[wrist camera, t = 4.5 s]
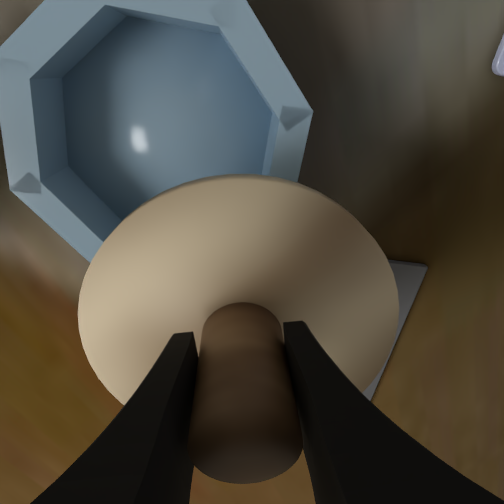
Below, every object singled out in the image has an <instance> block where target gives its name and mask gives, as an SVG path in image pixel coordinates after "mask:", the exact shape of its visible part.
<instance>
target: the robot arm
mask: <svg viewBox="0 0 504 504" xmlns="http://www.w3.org/2000/svg"><path fill="white" fill-rule="evenodd" d="M492 71H493V72H494V74H496V75H499V76H504V35H503V37H502V40H501V42H500V45H499V47H498V50H497V52H496V55H495V57H494V60H493V63H492ZM283 329H284V346H285V351H286V356H287V361H288V366H289V371H290V375H291V380H292V385H293V390H294V395H295V400H296V405H297V410H298V416H299V421H300V426H301V431H302V436H303V450H304V454H305V458H306V461H307V465H308V469H309V473H310V477H311V482H312V486H313V491H314V497H315V502H316V504H504V501H503V500H502V499H500V498H498V497H497V496H495V495H494V494H492V493H490V492H489V491H487V490H486V489H484V488H482V487H481V486H479V485H478V484H476V483H474V482H473V481H471V480H470V479H468V478H466V477H465V476H463V475H462V474H461V473H459V472H458V471H456V470H455V469H454V468H452V467H451V466H449V465H448V464H446V463H445V462H444V461H442V460H441V459H439V458H438V457H437V456H435V455H434V454H433V453H431V452H430V451H429V450H428V449H426V448H425V447H424V446H422V445H421V444H420V443H419V442H417V441H416V440H415V439H413V438H412V437H411V436H409V435H408V434H407V433H406V432H404V431H403V430H402V429H401V428H400V427H398V426H397V425H396V424H395V423H394V422H393V421H391V420H390V419H389V418H388V417H387V416H386V415H385V414H383V413H382V412H381V411H380V410H379V409H378V408H377V407H376V406H375V405H374V404H373V403H372V402H371V401H370V400H368V399H367V398H366V397H365V396H364V395H363V394H362V393H361V392H360V391H359V389H358V388H357V387H356V386H355V385H354V384H353V383H352V382H351V381H350V380H349V379H348V378H347V377H346V375H345V374H344V373H343V372H342V371H341V370H340V369H339V367H338V366H337V365H336V364H335V363H334V361H333V360H332V359H331V358H330V357H329V355H328V354H327V353H326V352H325V350H324V349H323V348H322V346H321V345H320V344H319V342H318V341H317V339H316V338H315V337H314V335H313V334H312V332H311V331H310V329H309V328H308V326H307V324H306V323H305V322H304V321H303V320H301V321H291V322H283ZM198 358H199V357H198V352H197V347H196V342H195V337H194V333H193V331H192V332H183V333H174V334H173V335H172V336H171V338H170V339H169V341H168V343H167V344H166V346H165V348H164V349H163V351H162V352H161V354H160V356H159V357H158V359H157V360H156V362H155V363H154V365H153V366H152V368H151V369H150V371H149V372H148V374H147V375H146V377H145V378H144V380H143V381H142V382H141V384H140V385H139V387H138V388H137V390H136V391H135V392H134V394H133V395H132V396H131V397H130V399H129V400H128V401H127V403H126V404H125V405H124V407H123V408H122V409H121V411H120V412H119V413H118V414H117V416H116V417H115V418H114V419H113V420H112V422H111V423H110V424H109V425H108V426H107V427H106V429H105V430H104V431H103V432H102V433H101V434H100V435H99V437H98V438H97V439H96V440H95V441H94V442H93V443H92V444H91V445H90V446H89V447H88V449H87V450H86V451H85V452H84V453H83V454H82V455H81V456H80V457H79V458H78V459H77V460H76V461H75V462H74V463H73V464H72V465H71V466H70V467H69V468H68V469H67V470H66V471H65V472H64V473H63V474H62V475H61V476H60V477H59V478H58V479H57V480H56V481H55V482H54V483H53V484H51V485H50V486H49V487H48V488H47V489H46V490H45V491H44V492H43V493H41V494H40V495H39V496H38V497H37V498H36V499H35V500H34V501H33V502H31V503H30V504H189V499H190V490H191V482H192V475H193V468H194V464H193V463H192V461H191V459H190V457H189V455H188V450H187V444H188V436H189V428H190V420H191V413H192V405H193V397H194V389H195V382H196V374H197V366H198Z"/></svg>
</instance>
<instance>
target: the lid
mask: <svg viewBox="0 0 504 504" xmlns="http://www.w3.org/2000/svg"><path fill="white" fill-rule="evenodd" d="M398 318H399V299H398V290H397V286H396V282H395V278H394V274H393V271H392V269H391V267H390V265H389V262H388V260H387V258H386V256H385V254H384V253H383V251H382V249H381V248H380V246H379V245H378V243H377V242H376V240H375V239H374V238H373V237H372V236H371V235H370V233H369V232H368V231H367V230H366V229H365V228H364V227H363V226H362V225H361V223H360V222H359V221H358V220H357V219H356V218H355V217H354V216H353V215H352V214H351V213H350V212H348V211H347V210H346V209H345V208H343V207H342V206H341V205H340V204H339V203H337V202H336V201H334V200H332V199H331V198H329V197H327V196H326V195H324V194H322V193H321V192H319V191H317V190H314V189H312V188H309V187H307V186H305V185H302V184H300V183H297V182H293V181H290V180H286V179H282V178H279V177H273V176H266V175H259V174H224V175H216V176H209V177H204V178H200V179H196V180H192V181H189V182H185V183H182V184H180V185H177V186H175V187H172V188H170V189H168V190H165V191H163V192H161V193H159V194H158V195H156V196H154V197H152V198H151V199H149V200H147V201H146V202H144V203H142V204H141V205H140V206H139V207H137V208H136V209H135V210H134V211H132V212H131V213H130V214H129V215H128V216H126V217H125V218H124V220H123V221H122V222H121V223H120V224H119V225H118V226H117V227H116V228H115V229H114V230H113V231H112V233H111V234H110V235H109V236H108V237H107V239H106V240H105V241H104V242H103V244H102V245H101V247H100V248H99V250H98V251H97V253H96V254H95V256H94V257H93V259H92V261H91V263H90V266H89V268H88V270H87V272H86V274H85V277H84V280H83V284H82V288H81V291H80V296H79V306H78V322H79V332H80V336H81V340H82V345H83V348H84V351H85V353H86V356H87V358H88V360H89V363H90V365H91V366H92V368H93V370H94V371H95V373H96V375H97V376H98V378H99V379H100V381H101V382H102V383H103V384H104V386H105V387H106V388H107V389H108V391H109V392H110V393H111V394H112V395H113V396H114V397H115V398H117V399H118V400H119V401H120V402H121V403H122V404H123V405H125V404H126V403H127V401H128V400H129V399H130V397H131V396H132V395H133V394H134V392H135V391H136V390H137V388H138V387H139V385H140V384H141V382H142V381H143V380H144V378H145V377H146V375H147V374H148V372H149V371H150V369H151V368H152V366H153V365H154V363H155V362H156V360H157V359H158V357H159V356H160V354H161V352H162V351H163V349H164V348H165V346H166V344H167V343H168V341H169V339H170V338H171V336H172V335H173V334H174V333H183V332H192V331H193V333H194V337H195V342H196V347H197V352H198V357H199V358H198V366H197V374H196V382H195V389H194V397H193V405H192V413H191V420H190V428H189V436H188V444H187V450H188V455H189V457H190V459H191V461H192V463H193V464H194V465H195V467H196V468H198V469H199V470H200V471H201V472H202V473H204V474H206V475H207V476H209V477H211V478H214V479H216V480H219V481H223V482H228V483H237V484H247V483H256V482H261V481H265V480H268V479H271V478H274V477H276V476H278V475H280V474H282V473H283V472H285V471H287V470H288V469H289V468H290V467H291V466H292V465H293V464H294V463H295V462H296V461H297V460H298V458H299V456H300V454H301V452H302V449H303V436H302V431H301V426H300V421H299V416H298V410H297V405H296V400H295V395H294V390H293V385H292V380H291V375H290V371H289V366H288V361H287V356H286V351H285V346H284V329H283V322H291V321H301V320H303V321H304V322H305V323H306V324H307V326H308V328H309V329H310V331H311V332H312V334H313V335H314V337H315V338H316V339H317V341H318V342H319V344H320V345H321V346H322V348H323V349H324V350H325V352H326V353H327V354H328V355H329V357H330V358H331V359H332V360H333V361H334V363H335V364H336V365H337V366H338V367H339V369H340V370H341V371H342V372H343V373H344V374H345V375H346V377H347V378H348V379H349V380H350V381H351V382H352V383H353V384H354V385H355V386H356V387H357V388H358V389H359V391H360V392H361V393H363V391H364V390H365V389H366V388H367V387H368V386H369V385H370V384H371V383H372V381H373V380H374V379H375V377H376V376H377V375H378V373H379V372H380V370H381V369H382V367H383V365H384V363H385V361H386V360H387V358H388V356H389V353H390V351H391V348H392V346H393V343H394V340H395V336H396V331H397V327H398Z"/></svg>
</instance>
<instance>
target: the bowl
mask: <svg viewBox="0 0 504 504" xmlns="http://www.w3.org/2000/svg"><path fill="white" fill-rule="evenodd" d="M312 114H313V110H312V109H311V107H310V106H309V104H308V102H307V101H306V99H305V97H304V96H303V94H302V92H301V91H300V89H299V87H298V86H297V84H296V82H295V81H294V79H293V77H292V76H291V74H290V72H289V71H288V69H287V67H286V66H285V64H284V62H283V61H282V59H281V57H280V56H279V54H278V52H277V51H276V49H275V47H274V46H273V44H272V42H271V41H270V39H269V37H268V36H267V34H266V32H265V31H264V29H263V27H262V26H261V24H260V22H259V21H258V19H257V17H256V16H255V14H254V12H253V11H252V9H251V7H250V6H249V4H248V2H247V1H246V0H44V2H43V3H42V4H41V5H40V6H39V7H38V8H37V9H36V10H35V11H34V12H33V13H32V14H31V15H30V16H29V17H28V18H27V19H26V20H25V21H24V22H23V23H22V24H21V25H20V27H19V28H18V29H17V30H16V31H15V32H14V33H13V34H12V35H11V36H10V37H9V38H8V39H7V40H6V41H5V42H4V43H3V44H2V45H1V46H0V125H1V132H2V139H3V146H4V153H5V159H6V166H7V173H8V180H9V186H10V191H12V192H13V193H14V194H15V195H16V196H17V197H18V198H19V199H21V200H22V201H23V202H24V203H25V204H26V205H27V206H28V207H29V208H30V209H32V210H33V211H34V212H35V213H36V214H37V215H38V216H39V217H40V218H41V219H43V220H44V221H45V222H46V223H47V224H48V225H49V226H50V227H51V228H52V229H54V230H55V231H56V232H57V233H58V234H59V235H60V236H61V237H62V238H63V239H65V240H66V241H67V242H68V243H69V244H70V245H71V246H72V247H73V248H74V249H76V250H77V251H78V252H79V253H80V254H81V255H82V256H83V257H84V258H85V259H87V260H88V261H89V262H90V263H91V261H92V259H93V257H94V256H95V254H96V253H97V251H98V250H99V248H100V247H101V245H102V244H103V242H104V241H105V240H106V239H107V237H108V236H109V235H110V234H111V233H112V231H113V230H114V229H115V228H116V227H117V226H118V225H119V224H120V223H121V222H122V221H123V220H124V218H125V217H126V216H128V215H129V214H130V213H131V212H132V211H134V210H135V209H136V208H137V207H139V206H140V205H141V204H142V203H144V202H146V201H147V200H149V199H151V198H152V197H154V196H156V195H158V194H159V193H161V192H163V191H165V190H168V189H170V188H172V187H175V186H177V185H180V184H182V183H185V182H189V181H192V180H196V179H200V178H204V177H209V176H216V175H224V174H259V175H266V176H273V177H279V178H282V179H286V180H290V181H293V182H298V177H299V173H300V168H301V164H302V159H303V155H304V150H305V145H306V141H307V136H308V132H309V127H310V123H311V118H312Z"/></svg>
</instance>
